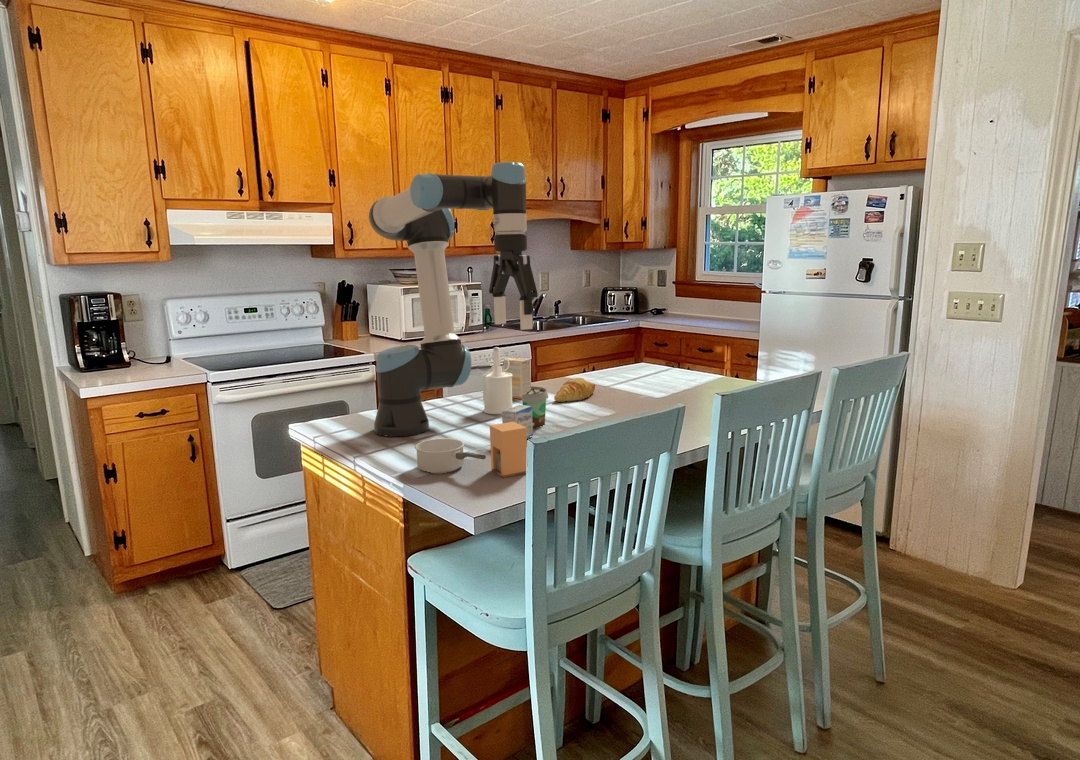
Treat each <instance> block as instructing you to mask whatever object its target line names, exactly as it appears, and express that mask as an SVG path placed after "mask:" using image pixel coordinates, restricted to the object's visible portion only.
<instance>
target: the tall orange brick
mask: <svg viewBox="0 0 1080 760" xmlns="http://www.w3.org/2000/svg"><path fill="white" fill-rule="evenodd" d="M489 440H490V442H489V443H490V445H489V446H490V466H491V470H492V469H497V456H496V453H497V452H500V454H501V474H502V475H503V476H504V475H509V474H514V473H519V472H524V471H526V447H527V448H528V440H527V428H526V427H524V426H522V425H520V424H518V423H515V422H508V423H497V424H491V425H490V424H489Z"/></svg>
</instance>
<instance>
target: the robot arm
mask: <svg viewBox="0 0 1080 760" xmlns="http://www.w3.org/2000/svg"><path fill="white" fill-rule="evenodd" d="M452 209H453V210H454V209H455V210H475V211H476V210H477V211H489V210H492V211H493V212H492V215H493V218H492V219H491V222H492V223H493V232H494V233H496V234H495V235H494V236H493V244H494V245H493V246H494V248H493V249H494V251H496V252H500V254H495V255H493V265H492V270H491V272H492V273H491V278H490V282H489V283H490V284H489V287H488V293H489V294H492V297H493V309H494V311H493V312H494V314H493V315H494V325H506V324H507V307H506V305H507V303H506V296H507V295H506V292H505V291H506V289H507V285H508V282H509V279H510V277H512V278H513V280H514V283H515V286H516V288H517V290H518V293H519V318H520V319H519V321H520V324H519V325H520V326H519V327H520V330H521V331H522V330H525V331H526V330H533V329H534V328H533V327H534V326H533V323H534V322H533V321H534V320H533V300H534V299H535V298H538V296H539V294H538V289H537V287H536V282H535V278H534V274H533V270H532V267H531V256H530V254H523V252H525V251H527V250H528V235H527V234H525V232H527V231H528V227H527V226H528V225H527V224H528V222H527V219H528V218H527V179H526V169H525V165H524V164H523V163H522V162H517V161H515V162H514V161H502V162H496V163H494V164H492V166H491V173H490V175H464V174H463V175H457V174H456V175H454V174H439V173H438V174H437V173H435V174H434V173H430V172H429V173H420V174H416V175H414V176H413V178H412V181H411V182H410V187H408V188H407V189H405V190H402V191H401V192H399V193H397V194H395V195H393V196H391V195H390V196H383V197H380V198H379V199H377V200H376V201H375V202H373V203H372V205H371V206H370V208H369V211H368V221H369V223H370V226H371V228H372V229H373V230H374V232H375V233H376V234H378V235H379V236H380V237H383V238H384V239H387V240H389V241H395V242H396V241H401V242H404V241H405V242H406V244H407V249H408V250H409V251H410V252H412V253H413V254H414V255H413V256H414V263H415V270H416V277H417V284H418V293H419V300H420V301H419V302H420V303H419V304H420V308H421V309H420V310H421V317H422V326H423V332H424V338H423V339H422V340H421V342H420V345H419V346H420V348H419V347H418V345H416V344H406V345H405V344H404V345H398V346H397V345H396V346H393V347H389V348H386V349H383V350H382V351H379V353H378V354H377V355H376V358H375V359H376V361H375V362H376V363H375V364H376V365H375V366H376V367H375V372H376V378H377V379H376V381H377V391H378V395H377V396H378V408H377V411H376V414H375V415H376V416H375V418H374V423H373V430H374V431H375V432H376V433H377V434H376V433H375V432H374V431H373V432H374V433H375V434H376V435H378V434H381V435H387V436H386V437H389V436H400V437H408V436H407V435H410V436H415V435H414V434H416V435H419V434H418V433H420V434H422V432H423V433H425V432H427V431H428V430H429V429H430V421H429V419H428V416H427V413H426V411H425V408H424V405H423V403H422V391H428V390H429V391H430V390H437V389H444V388H453V387H455V386H461V385H463V384H465V383H466V382H467V380H468V379H469V376H470V375H471V372H472V371H471V369H472V355H471V352H470V350H469V348H468V346H466V345H465V344H462V339H461V338H460V337H459V336H458V335H457V334H456V333H455V324H454V319H453V318H454V316H453V310H452V303H451V294H450V284H449V279H448V271H447V264H446V263H447V262H446V254H445V251H446V249H447V248H448V246H449V245H450V244H449V241H450V240H451V239H452V238H453V236H454V233H455V230H454V229H455V220H454V216H453V213H452ZM381 435H380V436H381Z"/></svg>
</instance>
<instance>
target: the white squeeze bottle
mask: <svg viewBox="0 0 1080 760" xmlns="http://www.w3.org/2000/svg"><path fill="white" fill-rule="evenodd" d="M500 353H501V350H500V348H499V347H497V346H495V347H493V351H492V365H491V368H490V369H488V370H487V371H486V372H485V373H484V374H482V377H481V378H482V380H481V381H482V398H483V399H482V400H483V406H484V407H483V412H484V413H485V414H488V415H502V411H505V410H507V409H510V408H513V407H514V406H513V398H512V374H511V373H507V372H504V371H505V370H507V369H508V368H509V365H510V363H509V360H508V358H509V357H506V356H501V357H500V355H501V354H500ZM503 358H504V359H507V361H508V367H507V369H505V370H504V369H503V367H502V366H501V361H502V359H503Z"/></svg>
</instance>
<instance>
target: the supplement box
mask: <svg viewBox="0 0 1080 760" xmlns="http://www.w3.org/2000/svg"><path fill="white" fill-rule="evenodd" d="M507 358H508V360H509V363H510V365H509V368H508V369H507V367H508V361H507V359H506V358H504V359H503V368H504V369H503V372H507V373H511V374H512V399H513V398H514V399H519V400H522V394H525V395H526V393H527V392H529V391H530V390H531V386H532V380H531V377H532V376H531V359H529V358H519V357H507ZM505 369H507V370H505ZM504 370H505V371H504Z"/></svg>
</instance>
